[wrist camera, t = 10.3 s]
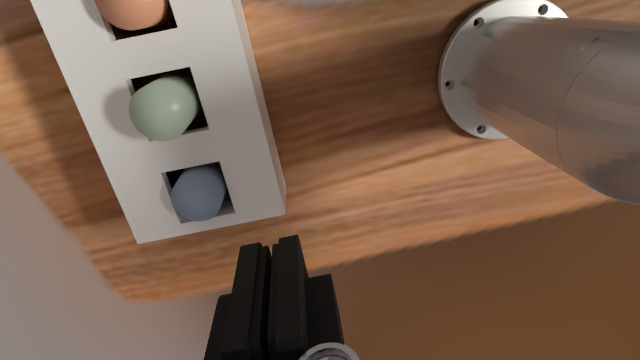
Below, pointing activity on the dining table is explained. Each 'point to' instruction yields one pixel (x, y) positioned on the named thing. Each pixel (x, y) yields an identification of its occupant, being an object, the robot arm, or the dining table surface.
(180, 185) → the slate button
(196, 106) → the sage button
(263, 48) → the dining table surface
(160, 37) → the console
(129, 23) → the terracotta button
